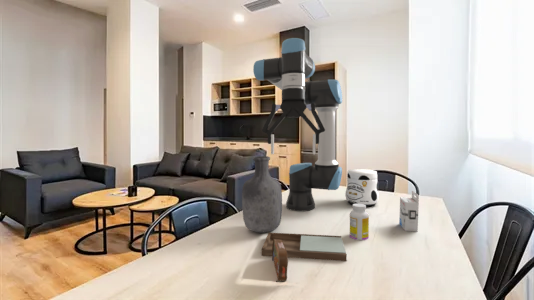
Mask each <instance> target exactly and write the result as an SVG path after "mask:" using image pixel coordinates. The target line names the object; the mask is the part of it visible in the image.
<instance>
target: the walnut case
mask: <svg viewBox="0 0 534 300" xmlns="http://www.w3.org/2000/svg"><path fill="white" fill-rule="evenodd" d="M301 235H302V236H322V237H341V238H342V236H341V235H325V234H323V235H322V234H306V233H305V234H304V233H286V232H267V235H266V238H265V240H264V243H263V245H262V247H261V250H260V251H261V252H260V253H261V256H262V257H272V245H273V240H274V239H278V240H282V241H283V243H284V245H285V248H286V251H287V256H288V259H305V260H306V259H307V260H321V261H323V260H324V261H338V262H347V259H348V258H347V252H346V253H331V252H314V251H300V243H301Z"/></svg>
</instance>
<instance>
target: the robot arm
mask: <svg viewBox="0 0 534 300" xmlns="http://www.w3.org/2000/svg"><path fill="white" fill-rule="evenodd" d="M306 48H307V47H306V41H305V40H304V39H302V38H298V37H291V38H287V39H284V40H283V42H282V43H281V52H280V53H281V57H272V58H271V57H270V58H263V59H259V60H256V61H255V62H254V64H253V71H252V72H253V76H254V77H255V79H256V81H263V82H264V81H268V82H270V84H272V85H274V86H275V87H276V88H279V90H281V103H280V104H275V103H272V104H271V110H270V112H269V114H268V117H267V119H266V121H265V123H264V125H263V127H262V129H261V131H262V132H263V133H265V134H267V144H268V145H270V155H274V154H275V134H273V132H274V131H275V130H276V129H277V128H278V126H279V125H280V124H281V123H282V121H283V120H284V119H285V118H289V119H290V118H294V119H295V118H296V119H297V118H300V117H301V119H303V121H304V122H305V123H306V124H307V125H308V126H309V128H310V129H311V130H312V131H313V132H314V133H313V134H312V154H313V155H316V152H317V160H316V161H315V162H314V165H313V163H312V162H300V163H295V164H292V165H290V166H289V170H288V171H289V173H288V176H289V178H288V181H289V182H288V183H289V192H288V196H287V199H286V203H285V206H286V208H287V210H288V209H289V210H290V209H291V210H290V211H298V212H306V211H307V212H308V211H312V210H314V209H316V203H315V199H314V197H313V196H314V195H313V193H312V189H315V190H316V189H317V190H327V191H337V190H338V189H339V188H340V185H341V182H342V181H341V180H342V177H343V176H342V175H343V168H342V166H340V165H339V164H340V163H339V162H338V161H337V160H336V112H337V110H338V109H339V108H340V107H339V106H340V105H341V104H342V103H343V92H342V88H341V84H340V81H339V80H338V79H329V78H328V79H323V80H322V79H320V80H311V81H309V80H308V81H306V79H309V78H311V77H312V76H313V75H314V73H315V71H316V64H315V62H314V60H313V59H312V58H311V57H310V56H309V55H308V54H307V53H306V50H307V49H306ZM279 109H280V110H281V111H282V113H281V115H280V116H279V117H278V118H277V120H275V122H274V123H273V125H272V126H271V127H270V124H271V122H272V120H273V119H274V117H275V115H276V112H278V111H279ZM306 109H308V111H310V113H311V115H312V117H313V119H314V120H315V122H316V124H317V125H315V124H314V123H313V122H312V121H311V120H310V118H308V117H307V115H306V114H305V113H304V112H305V110H306ZM316 126H317V127H316ZM269 127H270V128H269ZM316 146H317V149H316ZM316 150H317V151H316Z"/></svg>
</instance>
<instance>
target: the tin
mask: <svg viewBox="0 0 534 300" xmlns="http://www.w3.org/2000/svg"><path fill="white" fill-rule="evenodd" d="M271 260H272V262H273V264H274V269H275V273H276V277H277V279H276V281H275V282H286V281H287V279H288V268H289V258H288V256H287V251H286V248H285V245H284V243H283V241H282V240H278V239H274V240H273V245H272V256H271Z"/></svg>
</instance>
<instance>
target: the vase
mask: <svg viewBox="0 0 534 300" xmlns="http://www.w3.org/2000/svg"><path fill="white" fill-rule="evenodd" d="M252 157H253V158H252V160H253V161H254V173H253V176H252V177H251V178H250V179H248V180H245V182H244V183H243V186H242V191H241V192H242V194H241V197H242V198H241V200H242V201H241V203H242V204H241V205H242V206H241V207H242V209H241V210H242V217H243V218H242V219H243V223H244V225H245V227H246V228H247V229H248V230H249V231H252V232H255V233H261V234H262V233H263V234H264V233H271V232H273V231H274V230H276V229H278V228H279V226H280V225H281V222H282V215H283V214H282V212H283V193H282V185H281V183H280V182H279V181H278V180H277V179H275V178H273V177H272V176H271V174H270V171H269V169H270V168H269V166H270V164H269V163H270V160H271V157H270V156H269V155H268V156H266V155H260V156H252Z"/></svg>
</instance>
